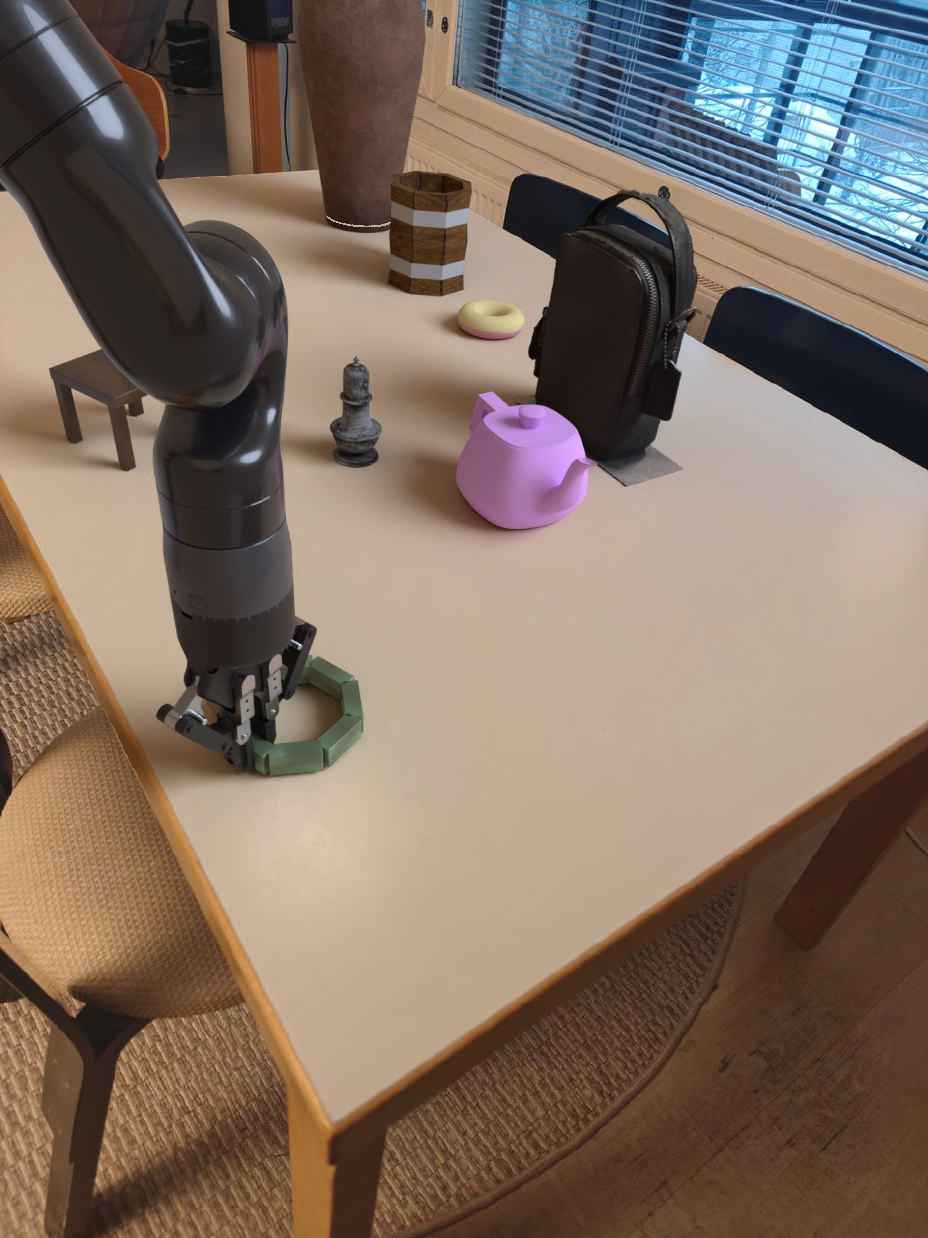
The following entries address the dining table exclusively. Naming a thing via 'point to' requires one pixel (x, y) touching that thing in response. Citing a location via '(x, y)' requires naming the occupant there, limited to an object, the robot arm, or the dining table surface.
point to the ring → (332, 741)
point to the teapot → (522, 464)
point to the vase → (361, 100)
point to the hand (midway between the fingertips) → (251, 756)
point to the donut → (490, 319)
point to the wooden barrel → (428, 232)
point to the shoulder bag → (616, 336)
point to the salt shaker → (355, 420)
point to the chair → (98, 398)
